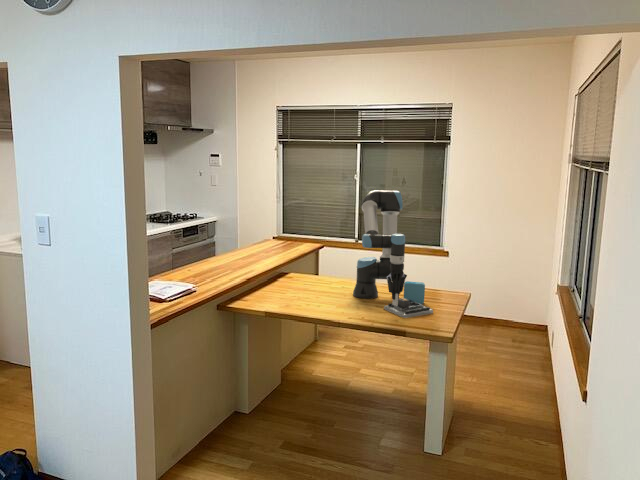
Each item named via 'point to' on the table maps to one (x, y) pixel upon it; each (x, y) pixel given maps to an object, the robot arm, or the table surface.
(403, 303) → the breaker toggle
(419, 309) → the breaker panel
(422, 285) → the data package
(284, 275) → the table surface
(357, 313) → the table surface
